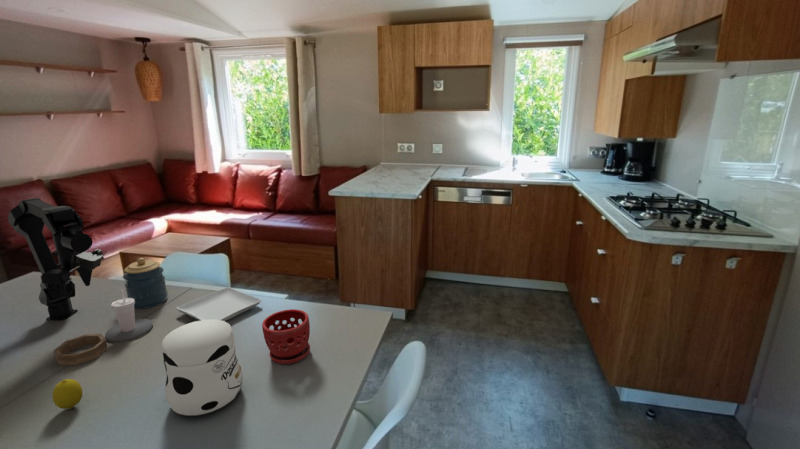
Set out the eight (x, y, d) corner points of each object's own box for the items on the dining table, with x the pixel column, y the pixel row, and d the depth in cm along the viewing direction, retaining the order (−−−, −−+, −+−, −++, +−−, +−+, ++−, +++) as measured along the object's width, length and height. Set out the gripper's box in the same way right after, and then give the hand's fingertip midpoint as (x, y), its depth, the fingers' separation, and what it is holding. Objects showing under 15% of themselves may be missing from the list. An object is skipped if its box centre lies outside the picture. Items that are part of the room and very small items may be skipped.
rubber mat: (120, 322, 138) (120, 319, 138) (160, 320, 139) (159, 317, 138) (96, 343, 125) (95, 340, 125) (139, 341, 126) (139, 338, 126)
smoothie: (135, 332, 129) (127, 293, 125) (113, 335, 128) (104, 295, 124) (142, 322, 135) (135, 284, 132) (121, 325, 134) (113, 286, 130)
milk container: (256, 397, 101) (248, 334, 96) (183, 435, 90) (169, 366, 85) (227, 368, 113) (219, 310, 108) (159, 398, 101) (146, 335, 96)
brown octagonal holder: (75, 343, 125) (73, 335, 124) (114, 341, 126) (112, 333, 125) (47, 366, 114) (44, 357, 113) (90, 364, 115) (87, 355, 114)
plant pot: (296, 338, 128) (294, 304, 124) (320, 355, 119) (317, 319, 115) (257, 355, 119) (253, 318, 116) (279, 375, 110) (276, 336, 107)
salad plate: (264, 307, 149) (263, 298, 148) (211, 333, 131) (210, 323, 130) (228, 293, 160) (227, 286, 159) (175, 316, 142) (174, 307, 141)
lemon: (67, 400, 100) (60, 373, 98) (90, 399, 101) (83, 372, 99) (50, 417, 95) (42, 388, 93) (75, 415, 96) (67, 387, 93)
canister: (155, 309, 146) (147, 264, 142) (120, 309, 147) (110, 264, 142) (175, 294, 159) (168, 252, 154) (143, 293, 159) (134, 252, 154)
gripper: (73, 256, 119) (84, 303, 123) (112, 237, 136) (120, 279, 141) (33, 257, 118) (46, 305, 122) (77, 237, 136) (87, 280, 140)
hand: (78, 291), depth 131 cm, fingers open, 9 cm apart
